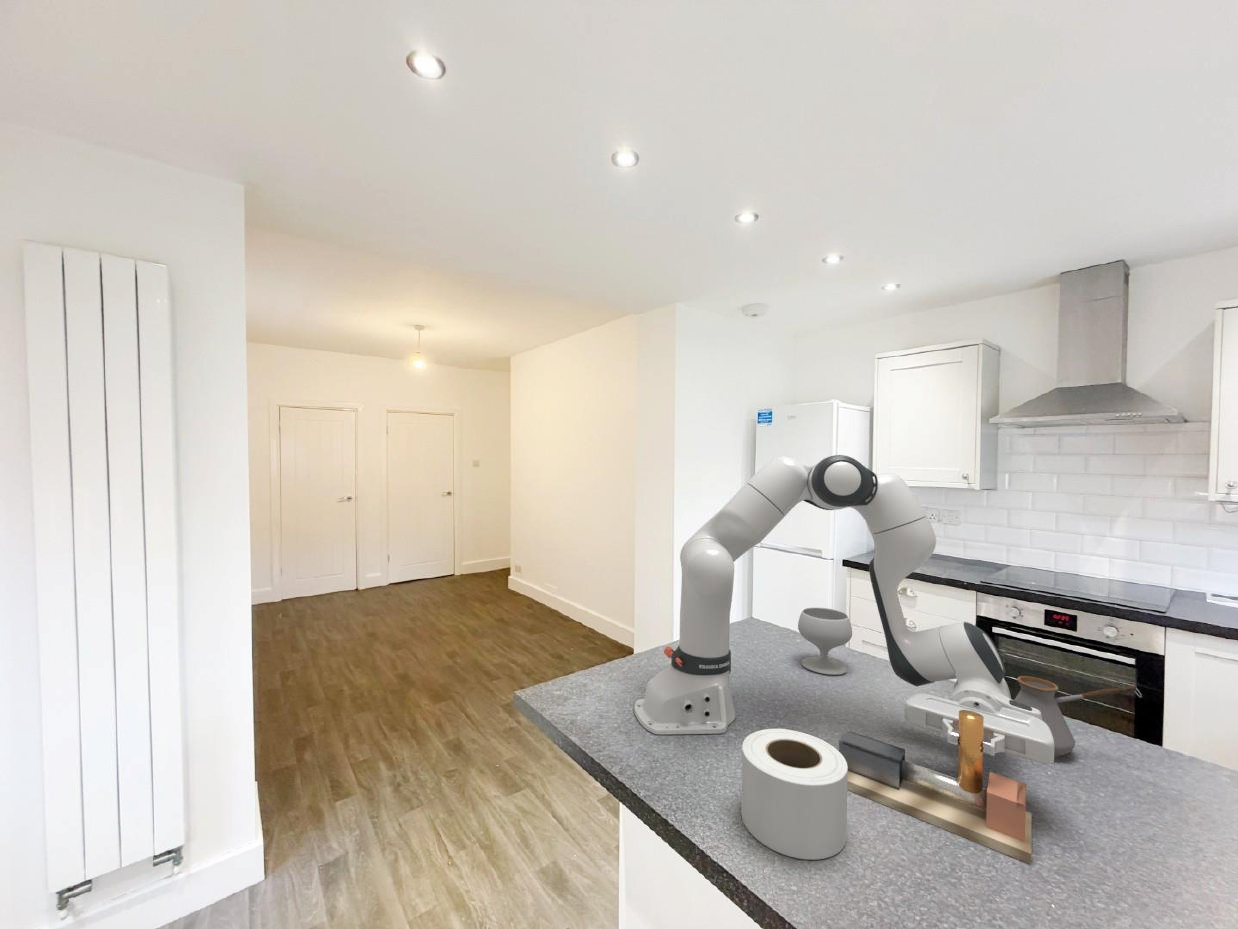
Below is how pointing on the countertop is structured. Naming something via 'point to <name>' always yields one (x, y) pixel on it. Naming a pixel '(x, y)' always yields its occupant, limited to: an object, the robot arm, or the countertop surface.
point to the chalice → (824, 637)
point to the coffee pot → (1056, 707)
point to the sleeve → (872, 758)
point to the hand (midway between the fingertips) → (970, 744)
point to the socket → (1006, 806)
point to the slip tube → (969, 766)
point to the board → (943, 814)
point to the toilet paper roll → (794, 793)
